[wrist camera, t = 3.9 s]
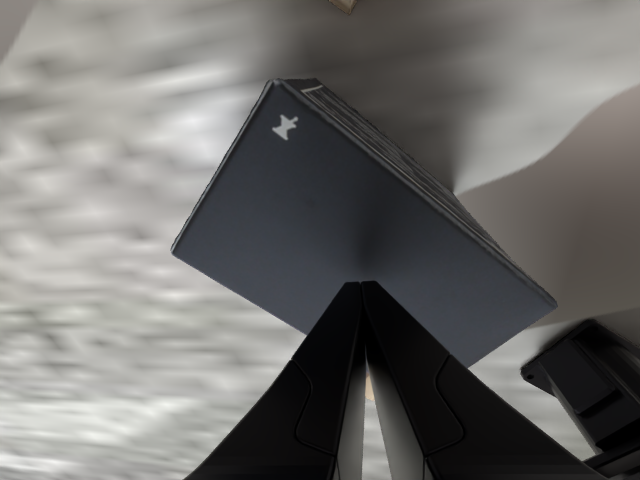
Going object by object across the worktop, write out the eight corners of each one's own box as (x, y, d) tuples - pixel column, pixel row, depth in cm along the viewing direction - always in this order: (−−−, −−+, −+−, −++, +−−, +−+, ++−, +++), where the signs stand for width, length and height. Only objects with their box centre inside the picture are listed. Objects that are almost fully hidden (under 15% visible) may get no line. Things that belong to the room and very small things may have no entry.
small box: (247, 172, 19) (153, 258, 9) (311, 73, 16) (270, 54, 7) (382, 268, 21) (414, 414, 12) (456, 193, 19) (574, 304, 9)
